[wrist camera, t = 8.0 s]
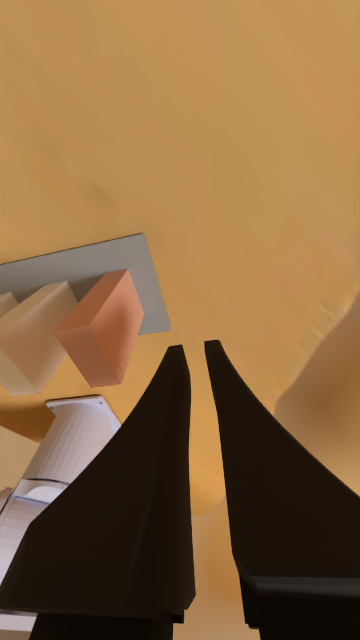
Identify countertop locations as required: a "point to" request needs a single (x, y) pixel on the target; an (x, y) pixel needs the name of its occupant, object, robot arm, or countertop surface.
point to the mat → (92, 275)
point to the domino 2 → (103, 329)
